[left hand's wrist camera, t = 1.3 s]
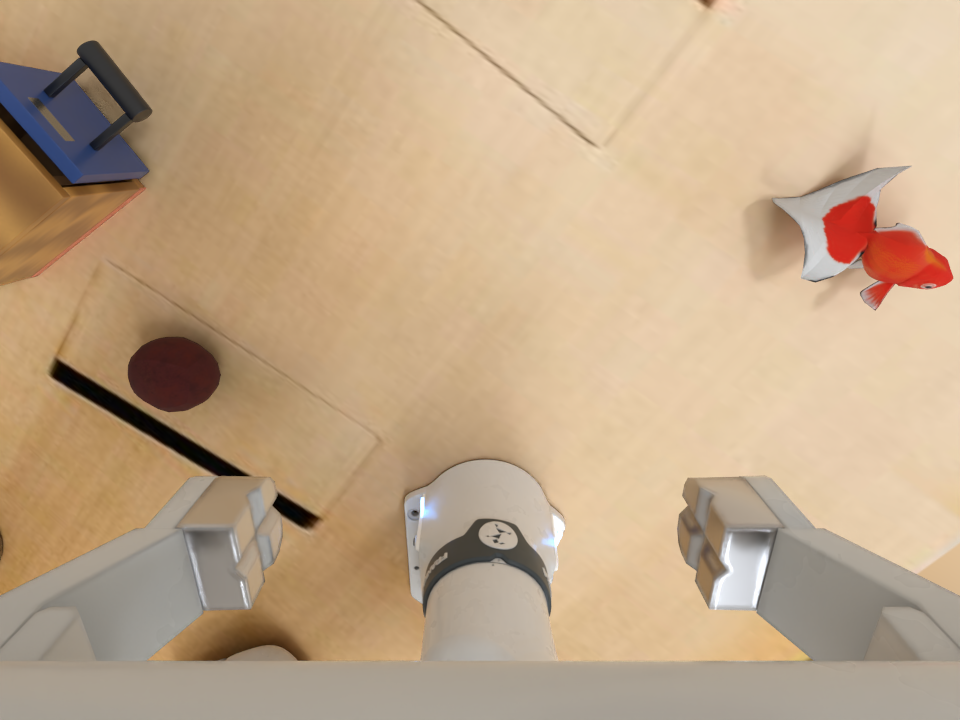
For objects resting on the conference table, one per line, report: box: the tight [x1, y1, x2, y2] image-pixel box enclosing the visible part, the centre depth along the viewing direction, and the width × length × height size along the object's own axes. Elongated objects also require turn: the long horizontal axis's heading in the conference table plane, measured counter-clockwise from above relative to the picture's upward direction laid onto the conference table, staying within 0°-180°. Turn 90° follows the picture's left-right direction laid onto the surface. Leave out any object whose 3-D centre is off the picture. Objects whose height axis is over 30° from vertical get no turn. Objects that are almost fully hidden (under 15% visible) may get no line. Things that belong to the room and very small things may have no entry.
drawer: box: [0, 41, 152, 187], centre depth 42 cm, size 19×9×8 cm, turn 123°
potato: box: [128, 337, 221, 412], centre depth 51 cm, size 7×8×7 cm
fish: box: [772, 166, 953, 310], centre depth 46 cm, size 11×16×10 cm
